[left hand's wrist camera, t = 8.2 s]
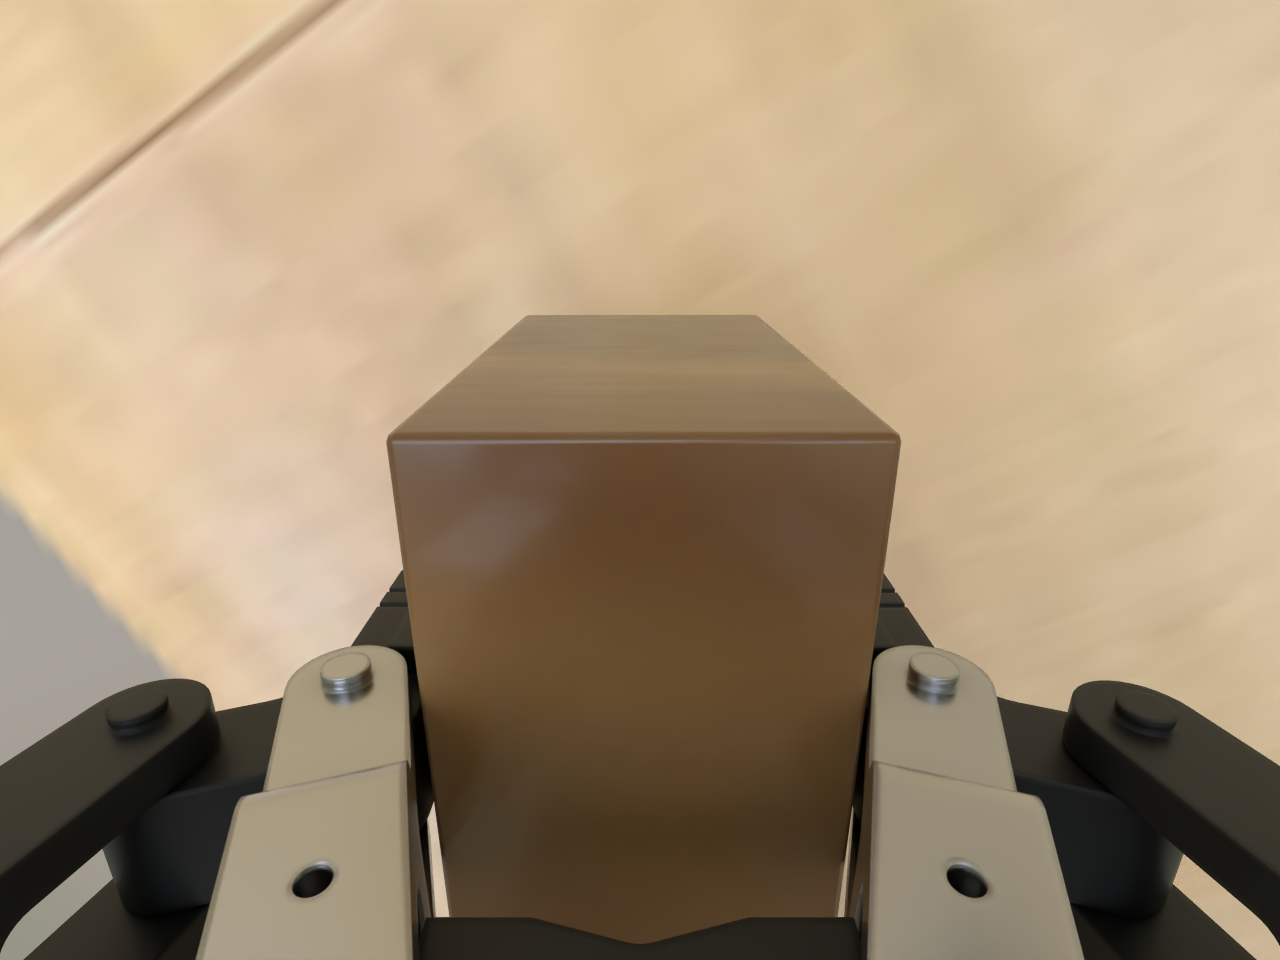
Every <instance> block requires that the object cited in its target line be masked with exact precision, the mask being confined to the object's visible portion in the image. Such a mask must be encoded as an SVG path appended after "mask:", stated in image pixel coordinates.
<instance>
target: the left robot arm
mask: <svg viewBox="0 0 1280 960" xmlns="http://www.w3.org/2000/svg"><path fill="white" fill-rule="evenodd" d="M433 802H434V796H433V789H432V781H431V774H430V766H429V759H428V751H427V744H426V736H425V728H424V721H423V713H422V706H421V698H420V691H419V683H418V676H417V668H416V661H415V653H414V646H413V638H412V631H411V623H410V616H409V608H408V601H407V593H406V586H405V578H404V570H402V571H401V572H400V574H399V575H398V577H397V578H396V580H395V581H394V583H393V584H392V586H391V587H390V591H389V592H387V593H386V595H385V596H384V598H383V599H382V601H381V602H380V607H377V608H376V610H375V611H374V613H373V614H372V616H371V617H370V619H369V620H368V622H367V623H366V625H365V626H364V628H363V629H362V631H361V632H360V633H359V635H358V636H357V638H356V639H355V641H354V642H353V644H352V645H351V647H347V648H342V649H338V650H335V651H331V652H329V653H326V654H324V655H321V656H319V657H317V658H315V659H313V660H311V661H310V662H308V663H307V664H305V665H303V666H302V667H301V668H300V669H298V670H297V671H296V672H295V673H294V674H293V675H292V677H291V678H290V679H289V681H288V683H287V685H286V688H285V692H284V696H283V698H279V699H276V700H271V701H267V702H262V703H257V704H252V705H247V706H242V707H237V708H232V709H227V710H222V711H217V712H215V708H214V704H213V700H212V696H211V693H210V691H209V689H208V688H207V687H206V686H205V685H204V684H202V683H200V682H198V681H194V680H189V679H165V680H158V681H153V682H149V683H145V684H141V685H137V686H134V687H131V688H128V689H126V690H123V691H121V692H118V693H116V694H114V695H112V696H110V697H108V698H106V699H104V700H102V701H100V702H98V703H97V704H95V705H93V706H92V707H90V708H89V709H87V710H86V711H84V712H83V713H81V714H80V715H78V716H76V717H75V718H73V719H72V720H70V721H69V722H67V723H66V724H64V725H63V726H61V727H60V728H58V729H56V730H55V731H53V732H52V733H50V734H49V735H47V736H46V737H44V738H43V739H41V740H40V741H38V742H37V743H35V744H33V745H32V746H30V747H29V748H27V749H26V750H24V751H23V752H21V753H20V754H18V755H17V756H15V757H13V758H12V759H10V760H9V761H7V762H6V763H4V764H3V765H1V766H0V952H1V949H2V947H3V945H4V943H5V941H6V939H7V937H8V936H9V934H10V932H11V931H12V930H13V928H14V927H15V925H16V924H17V923H18V922H19V921H20V920H21V919H22V917H23V916H24V915H25V914H26V913H27V912H29V911H30V910H31V909H32V908H33V907H34V906H35V905H37V904H38V903H39V902H40V901H41V900H42V899H44V898H45V897H46V896H47V895H48V894H50V893H51V892H52V891H53V890H54V889H55V888H57V887H58V886H59V885H60V884H61V883H62V882H64V881H65V880H66V879H67V878H68V877H69V876H71V875H72V874H73V873H74V872H75V871H77V870H78V869H79V868H80V867H81V866H82V865H84V864H85V863H86V862H87V861H88V860H89V859H91V858H92V857H93V856H94V855H95V854H97V853H98V852H99V851H100V850H101V849H103V851H104V854H105V857H106V860H107V862H108V865H109V868H110V871H111V874H112V877H113V879H112V880H111V881H110V882H109V883H108V884H107V885H106V886H104V887H103V888H102V889H101V890H100V891H99V892H98V893H97V894H96V895H95V896H93V897H92V898H91V899H90V900H89V901H88V902H87V903H86V904H85V905H83V906H82V907H81V908H80V909H79V910H78V911H77V912H76V913H75V914H74V915H72V916H71V917H70V918H69V919H68V920H67V921H66V922H65V923H64V924H62V925H61V926H60V927H59V928H58V929H57V930H56V931H55V932H54V933H53V934H51V935H50V936H49V937H48V938H47V939H46V940H45V941H44V942H43V943H42V944H40V945H39V946H38V947H37V948H36V949H35V950H34V951H33V952H32V953H30V954H29V955H28V956H27V957H26V958H25V959H24V960H1256V959H1255V958H1254V957H1253V956H1252V955H1251V954H1250V953H1248V952H1247V951H1246V950H1245V949H1244V948H1243V947H1242V946H1241V945H1240V944H1239V943H1237V942H1236V941H1235V940H1234V939H1233V938H1232V937H1231V936H1230V935H1229V934H1227V933H1226V932H1225V931H1224V930H1223V929H1222V928H1221V927H1220V926H1219V925H1218V924H1216V923H1215V922H1214V921H1213V920H1212V919H1211V918H1210V917H1209V916H1208V915H1206V914H1205V913H1204V912H1203V911H1202V910H1201V909H1200V908H1199V907H1198V906H1197V905H1195V904H1194V903H1193V902H1192V901H1191V900H1190V899H1189V898H1188V897H1187V896H1186V895H1184V894H1183V893H1182V892H1181V891H1180V890H1179V889H1178V888H1177V887H1176V886H1174V885H1173V881H1174V878H1175V876H1176V873H1177V870H1178V867H1179V865H1180V862H1181V859H1182V856H1183V853H1184V854H1185V855H1186V856H1187V857H1188V858H1189V859H1191V860H1192V861H1193V862H1194V863H1195V864H1196V865H1198V866H1199V867H1200V868H1201V869H1202V870H1203V871H1205V872H1206V873H1207V874H1208V875H1209V876H1211V877H1212V878H1213V879H1214V880H1215V881H1216V882H1218V883H1219V884H1220V885H1221V886H1222V887H1223V888H1225V889H1226V890H1227V891H1228V892H1229V893H1230V894H1232V895H1233V896H1234V897H1235V898H1236V899H1238V900H1239V901H1240V902H1241V903H1242V904H1243V905H1245V906H1246V907H1247V908H1248V909H1249V910H1250V911H1252V912H1253V913H1254V914H1255V915H1256V916H1257V917H1258V918H1259V919H1260V920H1261V921H1262V922H1263V923H1264V924H1265V925H1266V926H1267V927H1268V929H1269V930H1270V931H1271V933H1272V934H1273V935H1274V937H1275V938H1276V940H1277V942H1278V943H1279V945H1280V766H1279V765H1277V764H1276V763H1274V762H1273V761H1271V760H1270V759H1268V758H1267V757H1265V756H1264V755H1262V754H1260V753H1259V752H1257V751H1256V750H1254V749H1253V748H1251V747H1250V746H1248V745H1247V744H1245V743H1244V742H1242V741H1240V740H1239V739H1237V738H1236V737H1234V736H1233V735H1231V734H1230V733H1228V732H1227V731H1225V730H1224V729H1222V728H1221V727H1219V726H1217V725H1216V724H1214V723H1213V722H1211V721H1210V720H1208V719H1207V718H1205V717H1204V716H1202V715H1201V714H1199V713H1197V712H1196V711H1194V710H1193V709H1191V708H1190V707H1188V706H1186V705H1185V704H1183V703H1181V702H1180V701H1178V700H1176V699H1173V698H1171V697H1169V696H1167V695H1165V694H1162V693H1160V692H1158V691H1155V690H1152V689H1149V688H1146V687H1143V686H1139V685H1135V684H1130V683H1125V682H1119V681H1093V682H1088V683H1085V684H1082V685H1081V686H1079V687H1077V688H1076V689H1075V690H1074V692H1073V694H1072V697H1071V701H1070V705H1069V709H1068V712H1063V711H1058V710H1053V709H1048V708H1043V707H1038V706H1033V705H1028V704H1023V703H1018V702H1014V701H1010V700H1006V699H1003V698H1000V697H997V696H996V692H995V688H994V685H993V683H992V681H991V680H990V678H989V677H988V675H987V674H986V673H985V672H984V671H983V670H981V669H980V668H979V667H978V666H977V665H975V664H973V663H972V662H970V661H969V660H967V659H965V658H963V657H961V656H959V655H956V654H954V653H951V652H949V651H945V650H942V649H938V648H934V646H933V645H932V643H931V642H930V640H929V639H928V637H927V636H926V635H925V633H924V632H923V630H922V629H921V627H920V626H919V624H918V623H917V621H916V620H915V618H914V617H913V615H912V614H911V612H910V611H909V610H908V608H907V607H905V606H904V602H903V601H902V599H901V598H900V596H899V595H898V593H895V589H894V588H893V586H892V585H891V583H890V582H889V580H888V579H887V577H886V576H885V574H884V573H883V580H882V588H881V595H880V603H879V610H878V618H877V625H876V632H875V640H874V647H873V655H872V662H871V670H870V677H869V685H868V692H867V700H866V707H865V715H864V722H863V729H862V737H861V744H860V752H859V759H858V767H857V774H856V782H855V789H854V797H853V804H852V806H853V816H852V823H851V830H850V840H849V854H848V869H847V883H846V898H845V913H844V917H748V918H744V919H740V920H737V921H733V922H729V923H725V924H721V925H717V926H713V927H710V928H706V929H702V930H698V931H694V932H690V933H687V934H683V935H679V936H675V937H671V938H667V939H663V940H660V941H656V942H652V943H646V944H634V943H628V942H624V941H620V940H617V939H613V938H609V937H605V936H601V935H597V934H593V933H590V932H586V931H582V930H578V929H574V928H570V927H567V926H563V925H559V924H555V923H551V922H547V921H543V920H540V919H536V918H532V917H436V913H435V898H434V884H433V869H432V855H431V840H430V830H429V823H428V816H429V814H430V811H431V808H432V805H433Z"/></svg>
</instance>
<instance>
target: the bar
mask: <svg viewBox="0 0 1280 960" xmlns="http://www.w3.org/2000/svg"><path fill="white" fill-rule="evenodd" d="M386 443H387V450H388V458H389V465H390V473H391V480H392V488H393V495H394V503H395V510H396V518H397V525H398V533H399V540H400V548H401V555H402V563H403V570H404V578H405V586H406V593H407V601H408V608H409V616H410V623H411V631H412V638H413V646H414V653H415V661H416V668H417V676H418V683H419V691H420V698H421V706H422V713H423V721H424V728H425V736H426V744H427V751H428V759H429V766H430V774H431V781H432V789H433V796H434V804H435V811H436V819H437V826H438V834H439V841H440V849H441V856H442V864H443V871H444V879H445V886H446V894H447V901H448V909H449V917H532V918H536V919H540V920H543V921H547V922H551V923H555V924H559V925H563V926H567V927H570V928H574V929H578V930H582V931H586V932H590V933H593V934H597V935H601V936H605V937H609V938H613V939H617V940H620V941H624V942H628V943H634V944H646V943H652V942H656V941H660V940H663V939H667V938H671V937H675V936H679V935H683V934H687V933H690V932H694V931H698V930H702V929H706V928H710V927H713V926H717V925H721V924H725V923H729V922H733V921H737V920H740V919H744V918H748V917H837V916H838V908H839V901H840V894H841V886H842V879H843V871H844V864H845V856H846V849H847V841H848V834H849V826H850V819H851V811H852V804H853V797H854V789H855V782H856V774H857V767H858V759H859V752H860V744H861V737H862V729H863V722H864V715H865V707H866V700H867V692H868V685H869V677H870V670H871V662H872V655H873V647H874V640H875V632H876V625H877V618H878V610H879V603H880V595H881V588H882V580H883V573H884V565H885V558H886V550H887V543H888V536H889V528H890V521H891V513H892V506H893V498H894V491H895V483H896V476H897V468H898V461H899V453H900V446H901V439H900V436H899V434H898V433H897V432H896V431H895V430H893V429H892V428H891V427H890V426H889V425H887V424H886V423H885V422H884V421H883V420H881V419H880V418H879V417H878V416H877V415H875V414H874V413H873V412H872V411H871V410H869V409H868V408H867V407H866V406H865V405H863V404H862V403H861V402H860V401H859V400H857V399H856V398H855V397H854V396H853V395H851V394H850V393H849V392H848V391H847V390H845V389H844V388H843V387H842V386H841V385H839V384H838V383H837V382H836V381H835V380H833V379H832V378H831V377H830V376H829V375H827V374H826V373H825V372H824V371H823V370H822V369H820V368H819V367H818V366H817V365H816V364H814V363H813V362H812V361H811V360H810V359H808V358H807V357H806V356H805V355H804V354H802V353H801V352H800V351H799V350H798V349H796V348H795V347H794V346H793V345H792V344H790V343H789V342H788V341H787V340H786V339H784V338H783V337H782V336H781V335H780V334H778V333H777V332H776V331H775V330H774V329H772V328H771V327H770V326H769V325H768V324H766V323H765V322H764V321H763V320H762V319H760V318H759V317H758V316H756V315H528V316H526V317H524V318H523V319H522V320H521V321H520V322H519V323H517V324H516V325H515V326H514V327H513V328H512V329H510V330H509V331H508V332H507V333H506V334H505V335H503V336H502V337H501V338H500V339H499V340H498V341H497V342H495V343H494V344H493V345H492V346H491V347H490V348H488V349H487V350H486V351H485V352H484V353H483V354H482V355H480V356H479V357H478V358H477V359H476V360H475V361H473V362H472V363H471V364H470V365H469V366H468V367H467V368H465V369H464V370H463V371H462V372H461V373H460V374H458V375H457V376H456V377H455V378H454V379H453V380H451V381H450V382H449V383H448V384H447V385H446V386H445V387H443V388H442V389H441V390H440V391H439V392H438V393H436V394H435V395H434V396H433V397H432V398H431V399H430V400H428V401H427V402H426V403H425V404H424V405H423V406H421V407H420V408H419V409H418V410H417V411H416V412H414V413H413V414H412V415H411V416H410V417H409V418H408V419H406V420H405V421H404V422H403V423H402V424H401V425H399V426H398V427H397V428H396V429H395V430H394V431H393V432H391V433H390V434H389V435H388V438H387V442H386Z"/></svg>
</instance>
